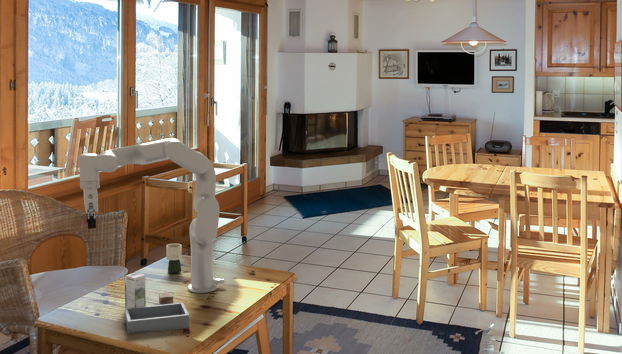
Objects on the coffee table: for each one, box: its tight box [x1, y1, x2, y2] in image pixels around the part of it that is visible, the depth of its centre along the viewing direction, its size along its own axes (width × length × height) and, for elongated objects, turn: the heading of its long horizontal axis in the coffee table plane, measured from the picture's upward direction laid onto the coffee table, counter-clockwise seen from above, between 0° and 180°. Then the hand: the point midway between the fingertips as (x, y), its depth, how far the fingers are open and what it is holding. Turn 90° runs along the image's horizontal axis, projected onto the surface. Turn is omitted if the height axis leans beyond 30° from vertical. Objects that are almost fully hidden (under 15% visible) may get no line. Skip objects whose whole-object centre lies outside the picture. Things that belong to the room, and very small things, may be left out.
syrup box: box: [124, 271, 147, 309], centre depth 280 cm, size 6×6×14 cm
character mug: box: [165, 243, 183, 274], centre depth 329 cm, size 11×7×13 cm, turn 33°
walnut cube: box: [158, 292, 174, 305], centre depth 285 cm, size 5×5×5 cm
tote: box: [124, 302, 190, 336], centre depth 266 cm, size 22×14×5 cm, turn 109°
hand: (91, 225), depth 288 cm, fingers open, 9 cm apart
